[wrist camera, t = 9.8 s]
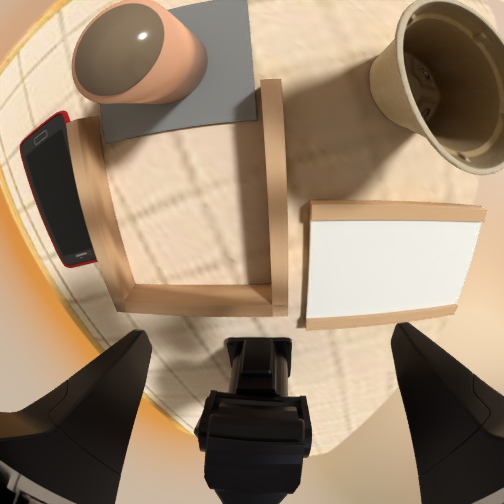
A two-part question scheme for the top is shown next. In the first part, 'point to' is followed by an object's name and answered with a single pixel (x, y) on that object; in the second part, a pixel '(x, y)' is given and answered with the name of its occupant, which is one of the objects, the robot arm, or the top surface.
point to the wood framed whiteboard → (387, 261)
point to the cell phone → (57, 190)
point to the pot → (137, 56)
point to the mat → (212, 85)
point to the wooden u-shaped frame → (184, 296)
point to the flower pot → (446, 83)
